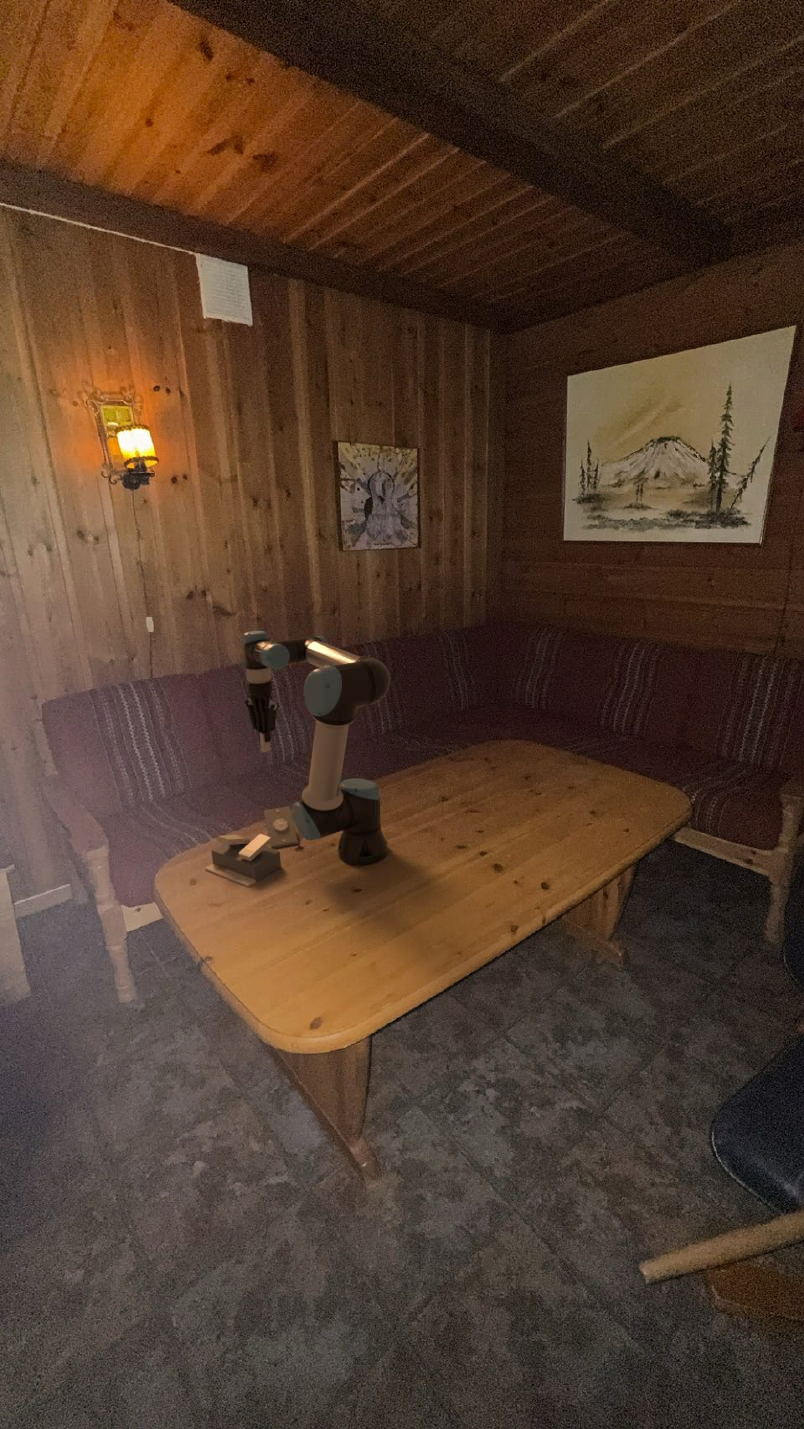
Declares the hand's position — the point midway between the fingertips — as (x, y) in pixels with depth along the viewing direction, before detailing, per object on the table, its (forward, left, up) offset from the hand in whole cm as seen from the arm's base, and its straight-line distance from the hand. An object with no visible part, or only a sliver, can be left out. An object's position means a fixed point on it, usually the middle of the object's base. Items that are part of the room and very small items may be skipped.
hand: (265, 750), depth 203 cm
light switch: (-9, +5, -27) cm, 29 cm away
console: (-13, +25, -26) cm, 39 cm away
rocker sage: (-18, +24, -19) cm, 35 cm away
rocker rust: (-9, +24, -19) cm, 32 cm away
